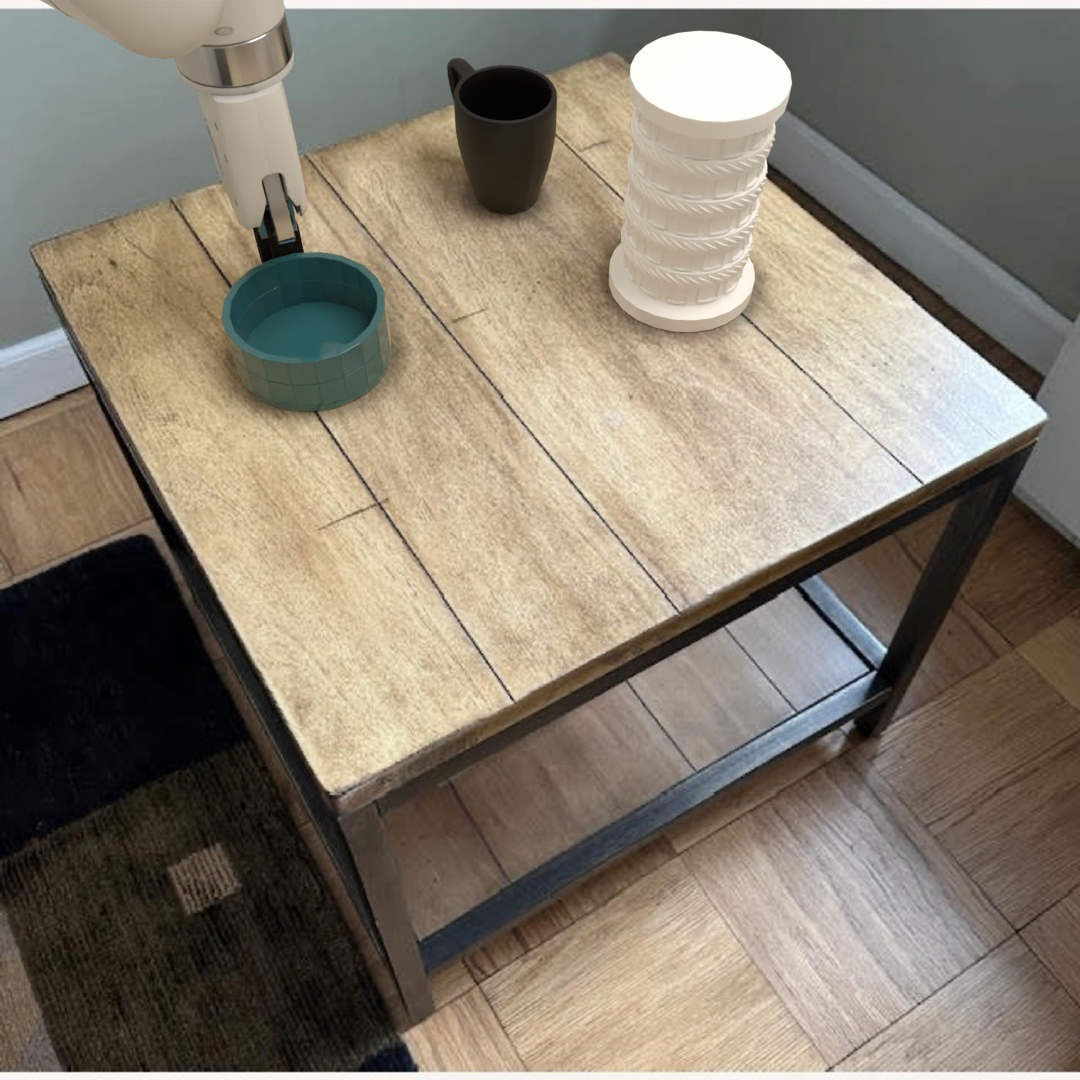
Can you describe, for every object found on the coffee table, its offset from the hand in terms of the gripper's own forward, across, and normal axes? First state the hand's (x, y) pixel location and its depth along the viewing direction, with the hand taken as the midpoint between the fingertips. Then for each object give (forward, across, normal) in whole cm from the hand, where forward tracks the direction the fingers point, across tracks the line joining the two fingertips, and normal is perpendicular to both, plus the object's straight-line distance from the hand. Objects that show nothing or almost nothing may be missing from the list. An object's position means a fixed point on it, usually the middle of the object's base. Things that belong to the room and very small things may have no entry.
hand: (284, 265), depth 85 cm
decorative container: (+3, +11, +29) cm, 31 cm away
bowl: (+2, +8, 0) cm, 8 cm away
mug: (+3, -7, +20) cm, 21 cm away
